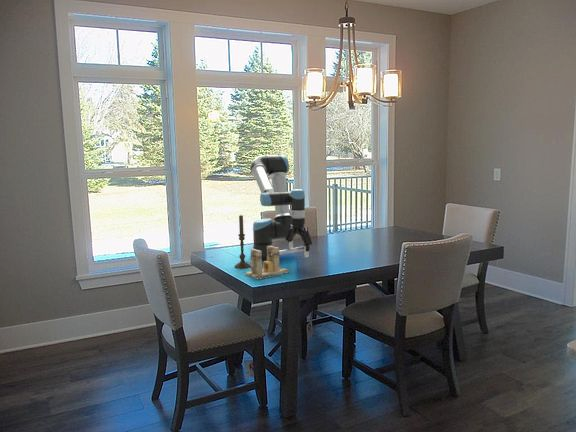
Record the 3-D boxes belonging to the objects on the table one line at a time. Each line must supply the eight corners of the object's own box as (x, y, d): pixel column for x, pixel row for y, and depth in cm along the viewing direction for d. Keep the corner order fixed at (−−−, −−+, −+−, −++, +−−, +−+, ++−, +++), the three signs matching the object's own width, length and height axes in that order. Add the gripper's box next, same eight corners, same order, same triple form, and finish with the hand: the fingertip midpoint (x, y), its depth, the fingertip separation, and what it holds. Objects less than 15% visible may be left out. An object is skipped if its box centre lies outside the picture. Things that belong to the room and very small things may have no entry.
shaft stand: (245, 274, 250) (244, 249, 248) (275, 268, 262) (274, 243, 260) (258, 279, 241) (258, 252, 239) (289, 272, 253) (288, 246, 251)
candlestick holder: (232, 268, 264) (230, 215, 259) (237, 264, 273) (235, 213, 268) (248, 268, 262) (246, 215, 258) (252, 264, 271) (250, 213, 267)
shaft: (269, 257, 254) (268, 250, 253) (305, 250, 270) (305, 243, 269) (273, 258, 251) (273, 251, 250) (310, 251, 267) (310, 244, 266)
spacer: (263, 270, 253) (263, 261, 252) (267, 269, 255) (267, 260, 254) (269, 272, 249) (268, 262, 248) (273, 271, 251) (273, 261, 250)
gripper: (278, 215, 268) (279, 252, 272) (307, 220, 249) (308, 259, 252) (289, 214, 273) (289, 250, 276) (318, 219, 254) (318, 257, 257)
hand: (298, 254), depth 264 cm, fingers open, 13 cm apart
